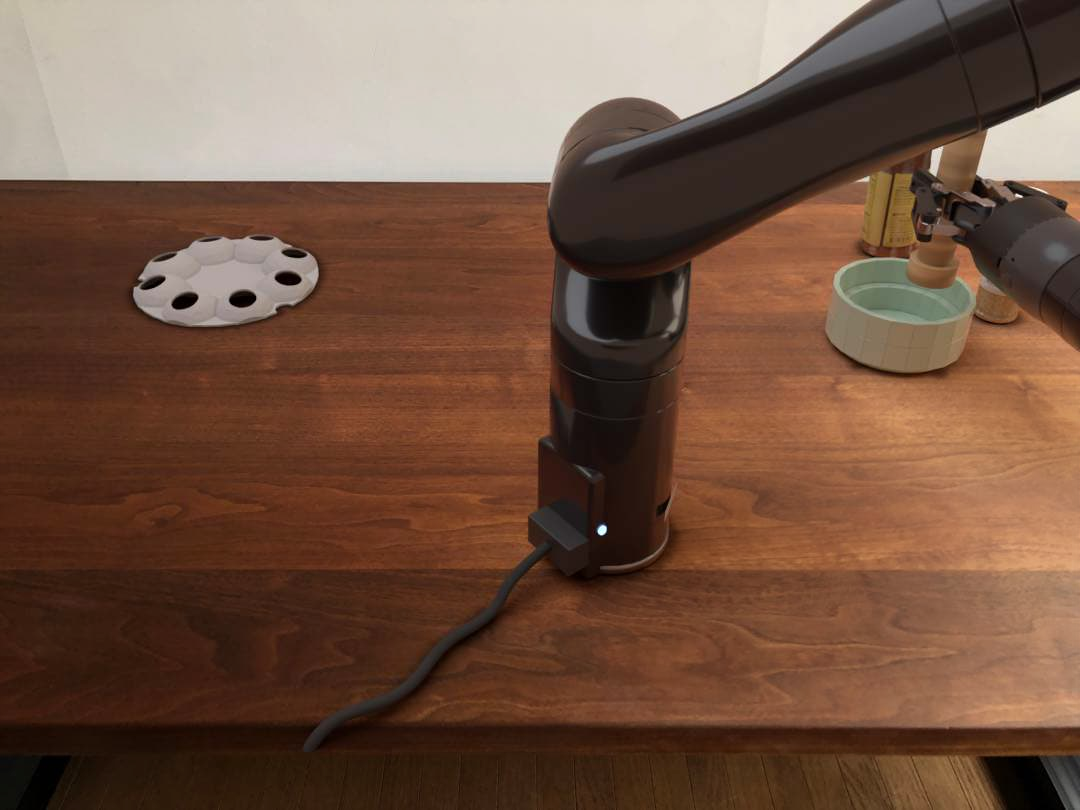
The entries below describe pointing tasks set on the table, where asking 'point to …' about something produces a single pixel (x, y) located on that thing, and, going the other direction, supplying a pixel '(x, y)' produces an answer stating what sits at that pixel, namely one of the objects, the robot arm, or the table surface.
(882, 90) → the robot arm
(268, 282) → the paint palette
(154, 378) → the table surface
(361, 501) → the table surface
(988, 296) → the sprinkles bottle
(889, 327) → the bowl
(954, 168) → the pestle
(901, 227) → the sauce bottle
